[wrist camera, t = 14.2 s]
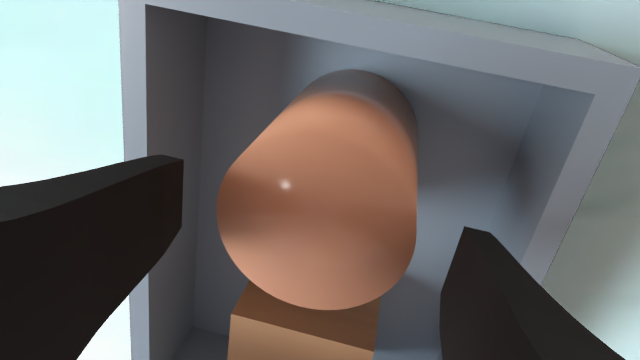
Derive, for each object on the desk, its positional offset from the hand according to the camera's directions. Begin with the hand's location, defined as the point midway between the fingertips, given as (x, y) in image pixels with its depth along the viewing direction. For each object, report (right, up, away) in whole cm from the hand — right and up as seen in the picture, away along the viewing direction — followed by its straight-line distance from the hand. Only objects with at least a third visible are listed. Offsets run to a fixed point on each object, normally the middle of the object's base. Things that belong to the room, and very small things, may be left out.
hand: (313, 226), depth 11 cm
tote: (+1, 0, +8) cm, 8 cm away
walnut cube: (0, -4, +9) cm, 10 cm away
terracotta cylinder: (+1, +3, +6) cm, 7 cm away
